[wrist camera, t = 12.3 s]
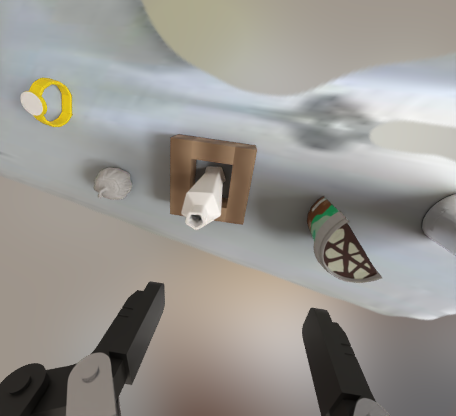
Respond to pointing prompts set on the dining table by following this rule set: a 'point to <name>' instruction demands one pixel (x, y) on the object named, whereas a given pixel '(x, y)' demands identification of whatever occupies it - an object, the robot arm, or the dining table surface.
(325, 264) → the food container
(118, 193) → the garlic
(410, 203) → the dining table surface
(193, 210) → the white faceted vase
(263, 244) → the dining table surface
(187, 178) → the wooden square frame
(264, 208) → the dining table surface
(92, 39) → the dining table surface
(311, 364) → the robot arm
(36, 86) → the watch
